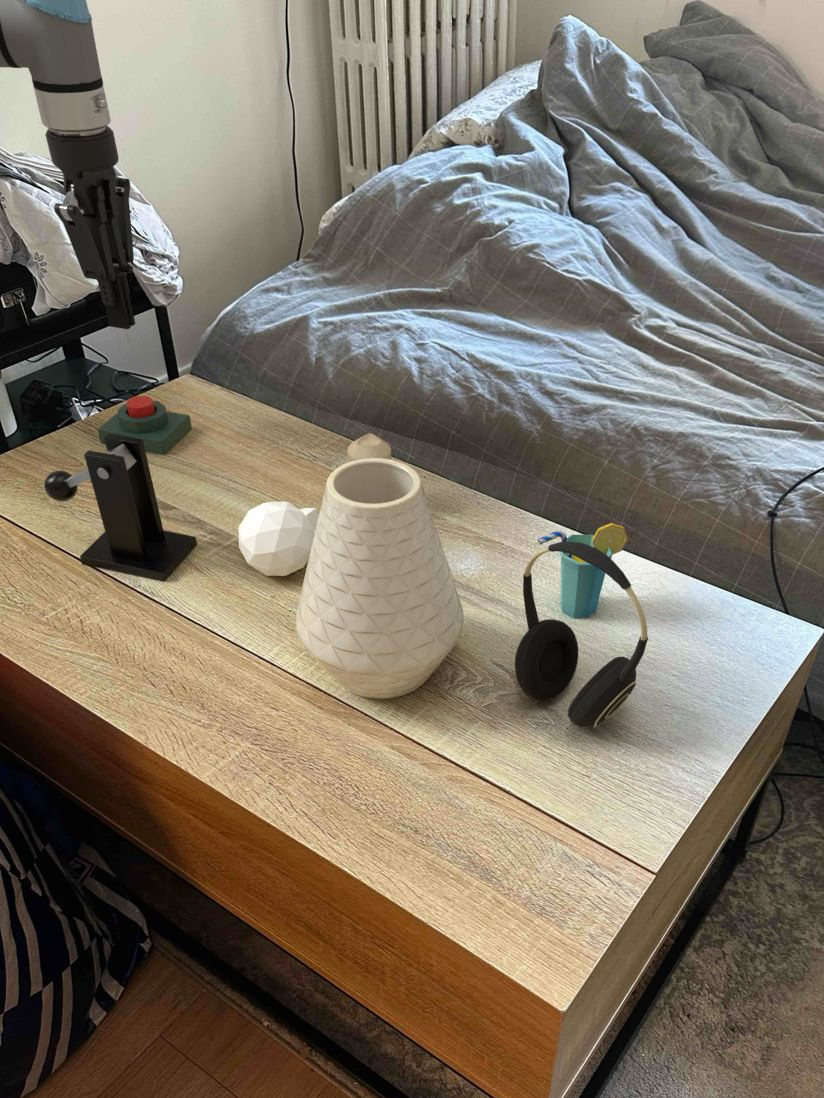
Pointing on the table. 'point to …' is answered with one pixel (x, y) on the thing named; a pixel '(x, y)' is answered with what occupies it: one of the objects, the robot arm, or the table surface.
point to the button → (140, 406)
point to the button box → (149, 428)
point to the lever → (78, 477)
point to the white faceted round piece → (277, 537)
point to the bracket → (131, 516)
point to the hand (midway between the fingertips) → (122, 324)
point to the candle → (368, 448)
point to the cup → (585, 569)
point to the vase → (378, 583)
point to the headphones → (574, 650)
